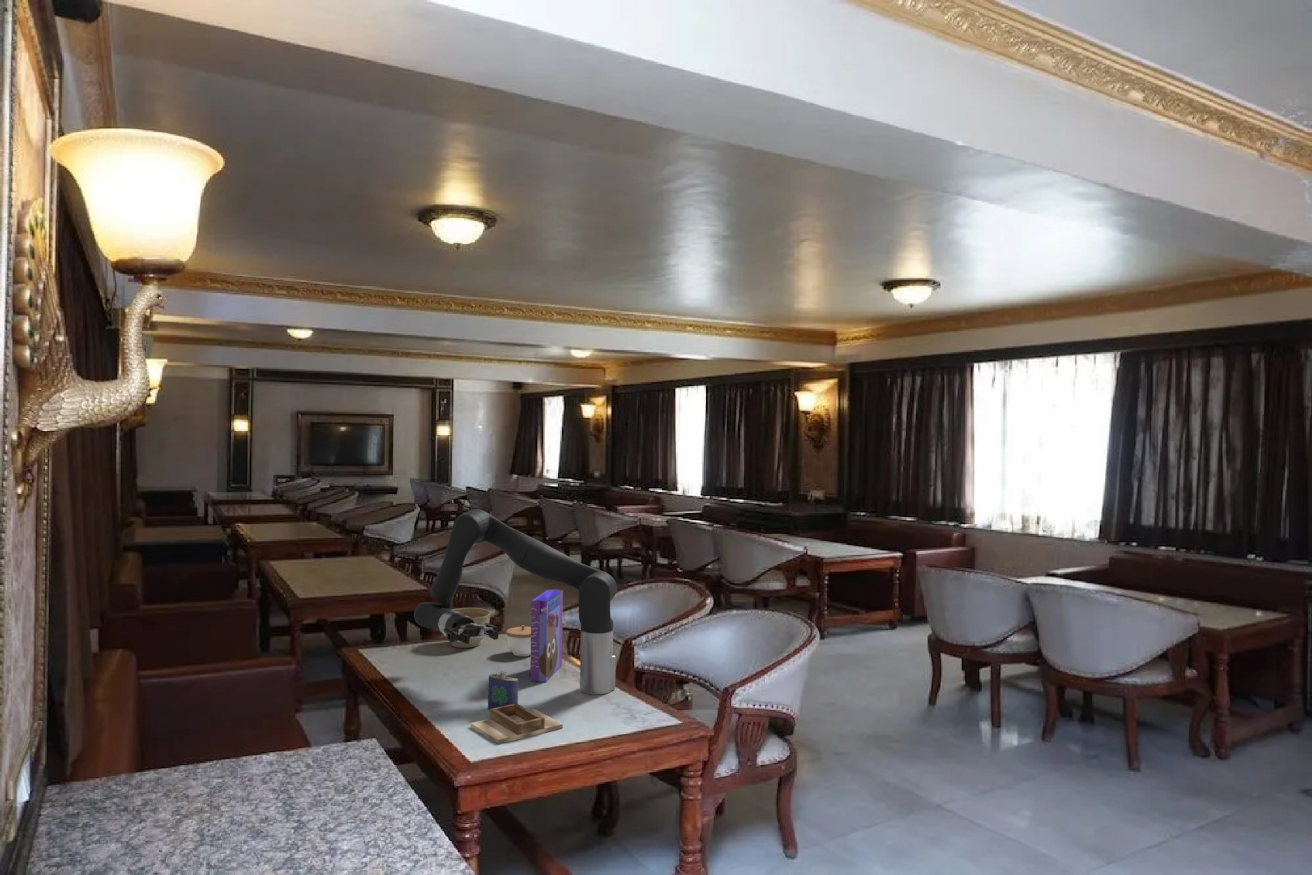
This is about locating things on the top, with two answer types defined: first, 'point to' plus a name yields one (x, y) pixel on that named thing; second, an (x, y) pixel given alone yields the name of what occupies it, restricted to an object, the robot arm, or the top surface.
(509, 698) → the flask
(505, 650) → the top surface
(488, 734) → the slot board
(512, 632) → the lidded jar
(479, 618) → the planter bowl
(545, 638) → the cereal box
